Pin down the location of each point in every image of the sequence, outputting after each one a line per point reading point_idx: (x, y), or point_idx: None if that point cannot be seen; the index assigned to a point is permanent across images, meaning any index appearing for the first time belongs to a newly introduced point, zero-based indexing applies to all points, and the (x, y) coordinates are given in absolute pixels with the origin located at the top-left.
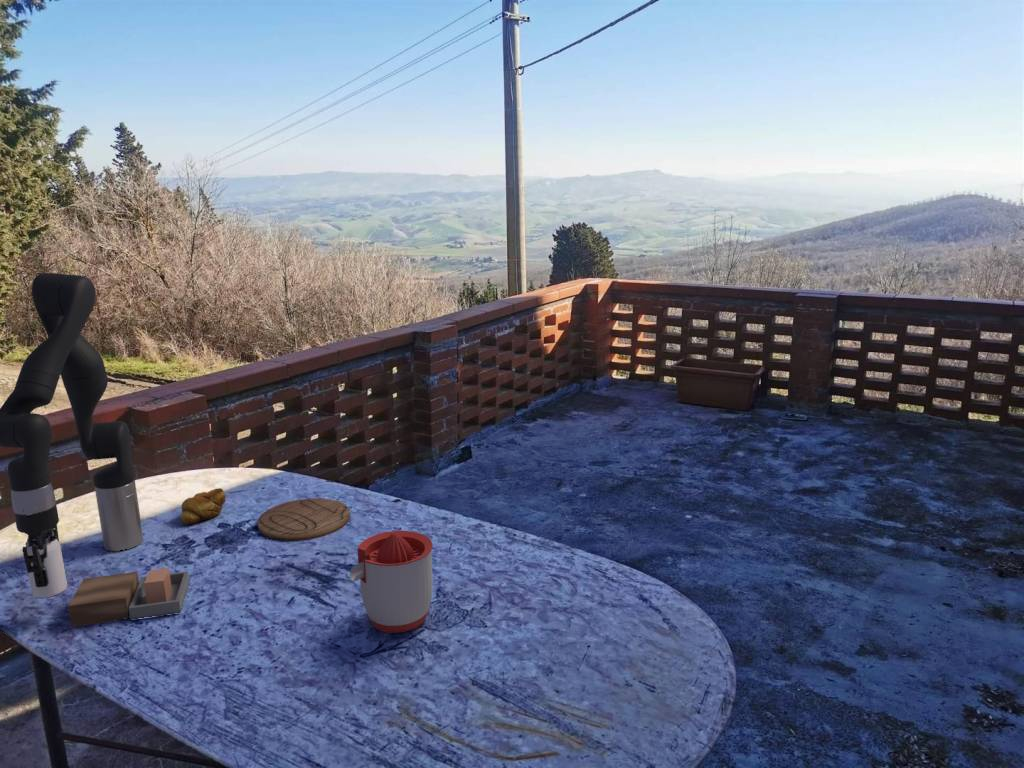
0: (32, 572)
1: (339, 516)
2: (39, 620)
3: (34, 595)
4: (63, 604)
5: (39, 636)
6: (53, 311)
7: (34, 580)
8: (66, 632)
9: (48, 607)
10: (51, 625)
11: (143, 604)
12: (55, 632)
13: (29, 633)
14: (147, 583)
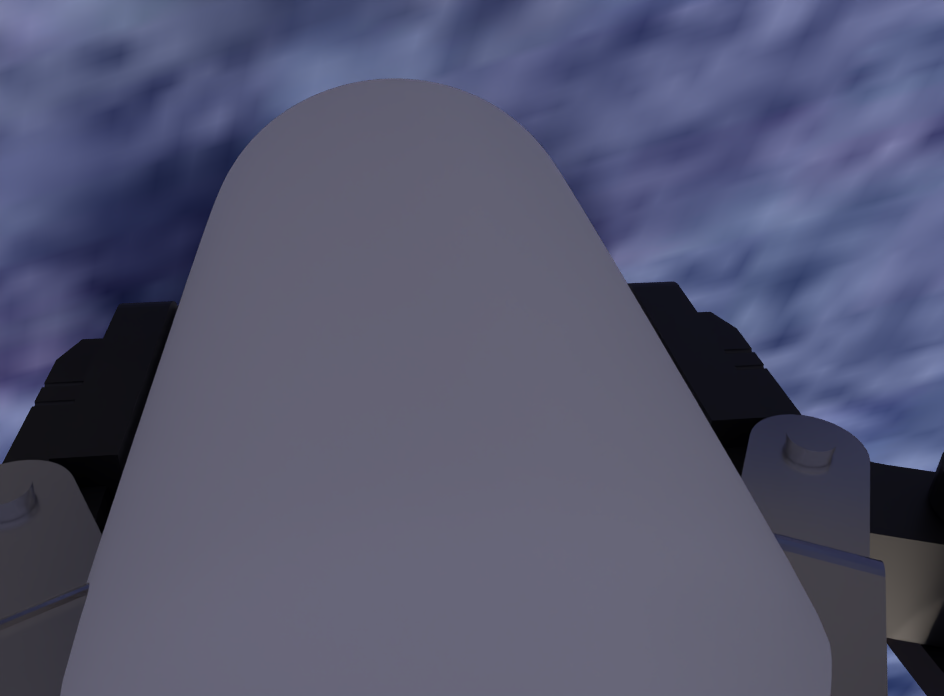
0: (159, 372)
1: None
2: (339, 28)
3: (247, 149)
4: (585, 157)
5: (36, 121)
6: None
7: (181, 301)
8: (83, 316)
9: (577, 37)
10: (221, 166)
11: None
12: (93, 234)
13: (101, 9)
14: None
